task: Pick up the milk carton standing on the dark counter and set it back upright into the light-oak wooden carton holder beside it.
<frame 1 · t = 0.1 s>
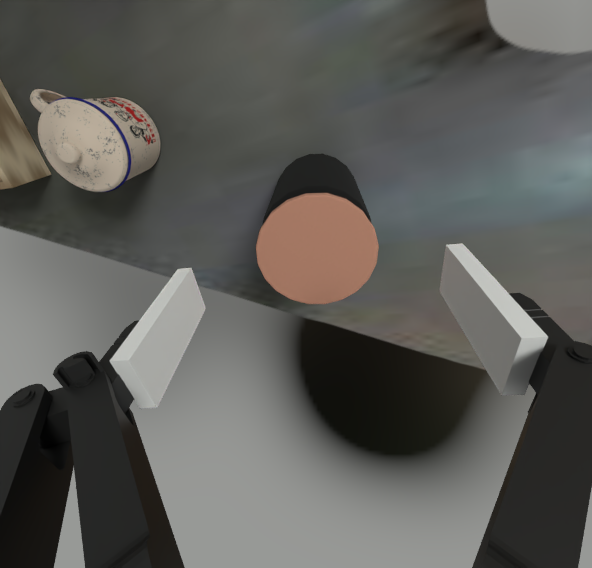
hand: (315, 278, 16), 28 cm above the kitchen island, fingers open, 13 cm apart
coffee jar: (316, 193, 42), on the kitchen island
teacup with lid: (117, 128, 39), on the kitchen island
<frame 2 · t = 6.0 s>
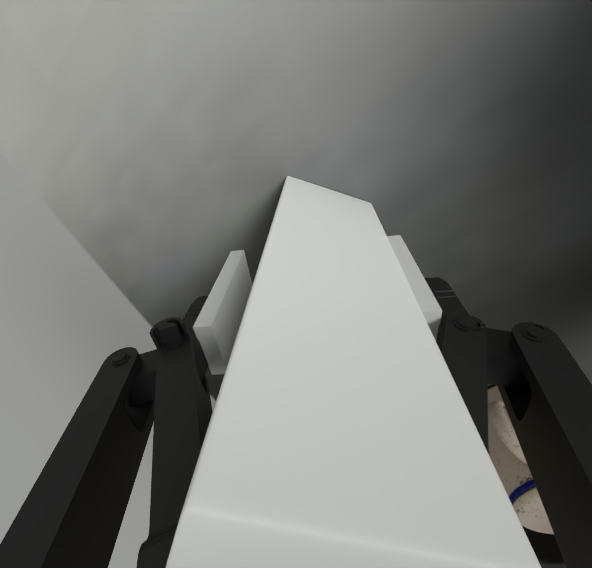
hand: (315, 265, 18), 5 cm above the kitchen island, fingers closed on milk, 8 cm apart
milk: (315, 227, 22), on the kitchen island, touching gripper
teacup with lid: (504, 397, 31), on the kitchen island
when the fingers open (8 cm above the kitchen island, at t = 13.4 s): milk drops 1 cm, resting on holder.
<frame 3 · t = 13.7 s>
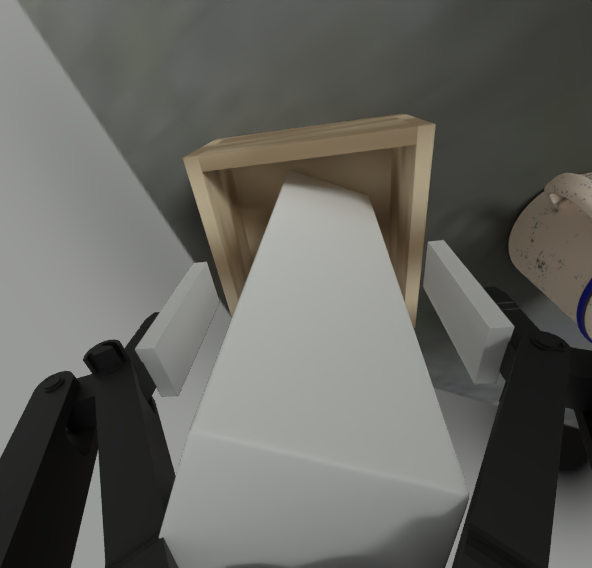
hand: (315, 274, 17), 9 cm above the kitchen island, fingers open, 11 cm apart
milk: (315, 219, 23), point 1 cm above the kitchen island, touching holder
teacup with lid: (556, 215, 23), on the kitchen island
holder: (315, 216, 24), on the kitchen island
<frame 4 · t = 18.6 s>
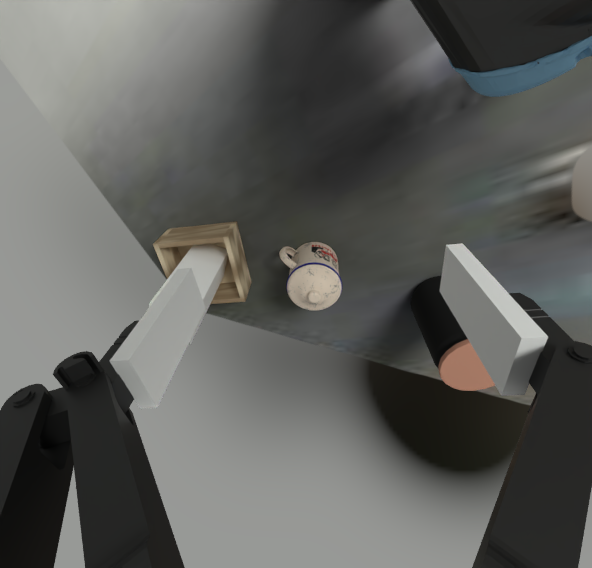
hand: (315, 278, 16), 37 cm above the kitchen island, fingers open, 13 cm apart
coffee jar: (437, 295, 60), on the kitchen island
milk: (211, 257, 58), point 1 cm above the kitchen island, touching holder
teacup with lid: (308, 256, 57), on the kitchen island
holder: (211, 256, 58), on the kitchen island
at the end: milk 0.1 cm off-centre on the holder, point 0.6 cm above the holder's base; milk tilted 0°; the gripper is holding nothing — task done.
